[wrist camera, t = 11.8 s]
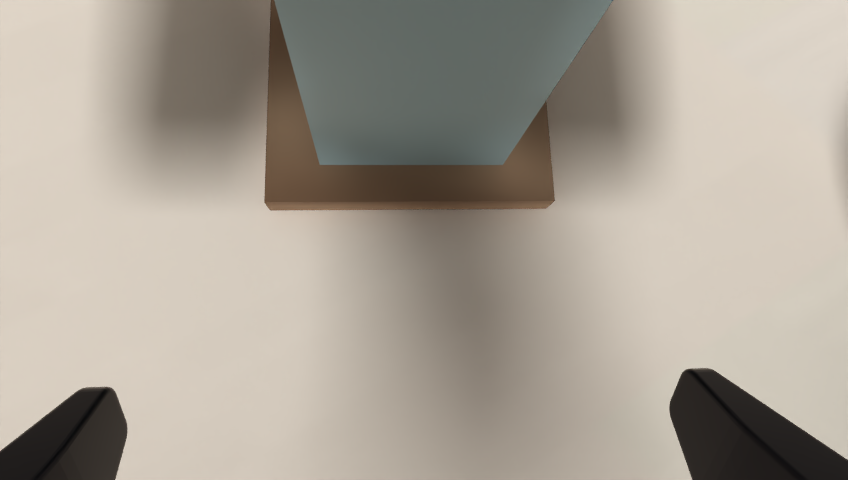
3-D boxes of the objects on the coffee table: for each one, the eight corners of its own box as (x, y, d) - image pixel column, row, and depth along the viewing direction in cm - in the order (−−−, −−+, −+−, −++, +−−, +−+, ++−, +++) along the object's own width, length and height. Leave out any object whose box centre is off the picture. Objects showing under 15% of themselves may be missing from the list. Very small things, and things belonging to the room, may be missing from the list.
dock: (545, 208, 20) (608, 153, 15) (270, 210, 19) (229, 152, 14) (524, -49, 22) (572, -176, 17) (278, -58, 21) (245, -197, 16)
